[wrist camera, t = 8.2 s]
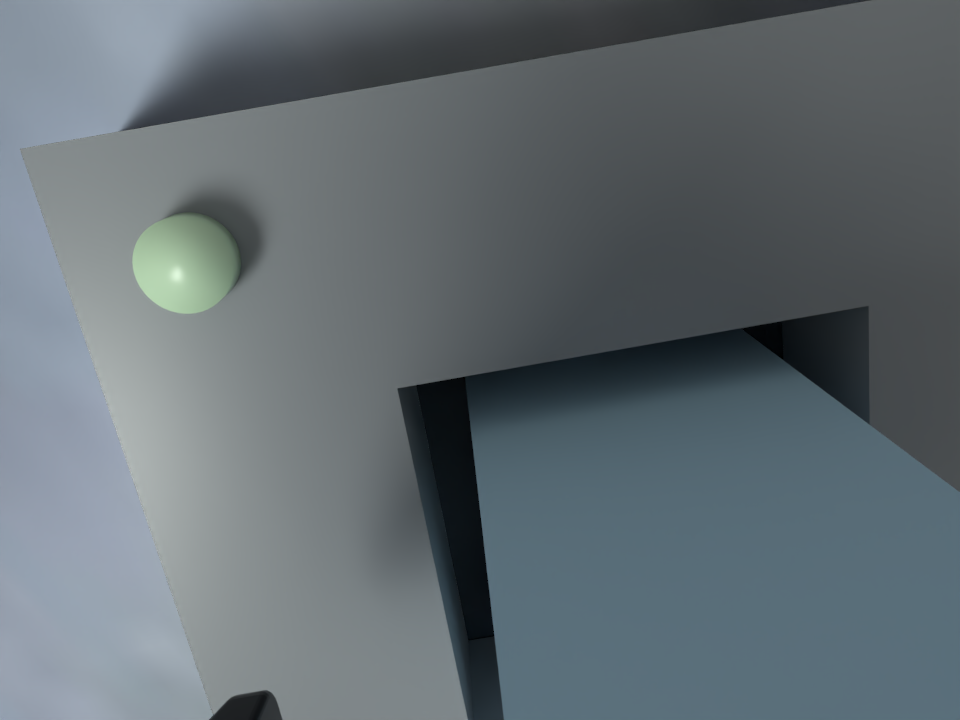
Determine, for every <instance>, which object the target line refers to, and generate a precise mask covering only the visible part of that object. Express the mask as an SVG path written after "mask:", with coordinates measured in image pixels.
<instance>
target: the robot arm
mask: <svg viewBox="0 0 960 720" xmlns="http://www.w3.org/2000/svg"><path fill="white" fill-rule="evenodd" d="M209 720H283V719H282V716H281V713H280V709H279V706H278V703H277V700H276V698H275V696H274V695H273V693H272V692H270V691H268V690H261V691H256V692H250V693H244V694H239V695H235V696H233V697H231V698H230V699H228V700H227V701H226V702H225V703H224V704H223V705H222V706H221V707H220V709H219V710H218V711H217V712H216V713H215V714H214V715H213V716H212V717H211V718H210V719H209Z"/></svg>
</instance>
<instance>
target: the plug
mask: <svg viewBox="0 0 960 720" xmlns="http://www.w3.org/2000/svg"><path fill="white" fill-rule="evenodd" d="M465 382H466V391H467V399H468V408H469V417H470V426H471V435H472V443H473V452H474V461H475V470H476V478H477V487H478V496H479V505H480V514H481V522H482V531H483V540H484V549H485V558H486V566H487V575H488V584H489V593H490V601H491V610H492V619H493V628H494V637H495V645H496V654H497V663H498V672H499V680H500V689H501V698H502V707H503V716H504V720H960V492H959V491H957V490H956V489H955V488H953V487H952V486H951V485H949V484H948V483H947V482H945V481H944V480H943V479H941V478H940V477H939V476H937V475H936V474H935V473H933V472H932V471H931V470H929V469H928V468H927V467H925V466H924V465H923V464H921V463H920V462H919V461H917V460H916V459H915V458H913V457H912V456H911V455H909V454H908V453H907V452H905V451H904V450H903V449H901V448H900V447H899V446H897V445H896V444H895V443H893V442H892V441H891V440H889V439H888V438H887V437H885V436H884V435H883V434H881V433H880V432H879V431H877V430H876V429H875V428H873V427H872V426H871V425H869V424H868V423H867V422H865V421H864V420H863V419H861V418H860V417H858V416H857V415H856V414H854V413H853V412H852V411H850V410H849V409H848V408H846V407H845V406H844V405H842V404H841V403H840V402H838V401H837V400H836V399H834V398H833V397H832V396H830V395H829V394H828V393H826V392H825V391H824V390H822V389H821V388H820V387H818V386H817V385H816V384H814V383H813V382H812V381H810V380H809V379H808V378H806V377H805V376H804V375H802V374H801V373H800V372H798V371H797V370H796V369H794V368H793V367H792V366H790V365H789V364H788V363H786V362H785V361H784V360H782V359H781V358H780V357H778V356H777V355H776V354H774V353H773V352H772V351H770V350H769V349H768V348H766V347H765V346H764V345H762V344H761V343H760V342H758V341H757V340H756V339H754V338H753V337H752V336H750V335H749V334H748V333H746V332H745V331H743V330H742V329H741V328H739V329H734V330H728V331H722V332H716V333H711V334H705V335H699V336H694V337H688V338H682V339H676V340H671V341H665V342H659V343H654V344H648V345H642V346H637V347H631V348H625V349H619V350H614V351H608V352H602V353H597V354H591V355H585V356H579V357H574V358H568V359H562V360H557V361H551V362H545V363H539V364H534V365H528V366H522V367H517V368H511V369H505V370H500V371H494V372H488V373H482V374H477V375H471V376H465Z"/></svg>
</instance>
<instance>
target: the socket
mask: <svg viewBox="0 0 960 720" xmlns="http://www.w3.org/2000/svg"><path fill="white" fill-rule="evenodd" d="M20 150H21V153H22V156H23V159H24V162H25V165H26V168H27V171H28V174H29V177H30V180H31V183H32V186H33V189H34V192H35V194H36V197H37V200H38V203H39V206H40V209H41V212H42V215H43V218H44V221H45V224H46V227H47V230H48V233H49V235H50V238H51V241H52V244H53V247H54V250H55V253H56V256H57V259H58V262H59V265H60V268H61V271H62V274H63V276H64V279H65V282H66V285H67V288H68V291H69V294H70V297H71V300H72V303H73V306H74V309H75V312H76V315H77V318H78V320H79V323H80V326H81V329H82V332H83V335H84V338H85V341H86V344H87V347H88V350H89V353H90V356H91V359H92V361H93V364H94V367H95V370H96V373H97V376H98V379H99V382H100V385H101V388H102V391H103V394H104V397H105V400H106V402H107V405H108V408H109V411H110V414H111V417H112V420H113V423H114V426H115V429H116V432H117V435H118V438H119V441H120V443H121V446H122V449H123V452H124V455H125V458H126V461H127V464H128V467H129V470H130V473H131V476H132V479H133V482H134V485H135V487H136V490H137V493H138V496H139V499H140V502H141V505H142V508H143V511H144V514H145V517H146V520H147V523H148V526H149V528H150V531H151V534H152V537H153V540H154V543H155V546H156V549H157V552H158V555H159V558H160V561H161V564H162V567H163V569H164V572H165V575H166V578H167V581H168V584H169V587H170V590H171V593H172V596H173V599H174V602H175V605H176V608H177V611H178V613H179V616H180V619H181V622H182V625H183V628H184V631H185V634H186V637H187V640H188V643H189V646H190V649H191V652H192V654H193V657H194V660H195V663H196V666H197V669H198V672H199V675H200V678H201V681H202V684H203V687H204V690H205V693H206V695H207V698H208V701H209V704H210V707H211V710H212V713H213V715H214V714H215V713H216V712H217V711H218V710H219V709H220V707H221V706H222V705H223V704H224V703H225V702H226V701H227V700H228V699H230V698H231V697H233V696H235V695H239V694H244V693H250V692H256V691H261V690H268V691H270V692H272V693H273V695H274V696H275V698H276V700H277V703H278V706H279V709H280V713H281V716H282V719H283V720H504V716H503V707H502V698H501V689H500V680H499V672H498V663H497V654H496V645H495V637H494V636H493V637H487V638H481V639H476V640H470V641H468V636H467V631H466V626H465V621H464V616H463V611H462V606H461V601H460V597H459V592H458V587H457V582H456V577H455V572H454V567H453V562H452V557H451V552H450V548H449V543H448V538H447V533H446V528H445V523H444V518H443V513H442V508H441V504H440V499H439V494H438V489H437V484H436V479H435V474H434V469H433V464H432V460H431V455H430V450H429V445H428V440H427V435H426V430H425V425H424V420H423V416H422V411H421V406H420V401H419V396H418V391H417V386H416V385H420V384H425V383H431V382H437V381H442V380H448V379H454V378H460V377H465V376H471V375H477V374H482V373H488V372H494V371H500V370H505V369H511V368H517V367H522V366H528V365H534V364H539V363H545V362H551V361H557V360H562V359H568V358H574V357H579V356H585V355H591V354H597V353H602V352H608V351H614V350H619V349H625V348H631V347H637V346H642V345H648V344H654V343H659V342H665V341H671V340H676V339H682V338H688V337H694V336H699V335H705V334H711V333H716V332H722V331H728V330H734V329H739V328H745V327H751V326H756V325H762V324H768V323H774V322H779V321H782V342H783V360H784V361H785V362H786V363H788V364H789V365H790V366H792V367H793V368H794V369H796V370H797V371H798V372H800V373H801V374H802V375H804V376H805V377H806V378H808V379H809V380H810V381H812V382H813V383H814V384H816V385H817V386H818V387H820V388H821V389H822V390H824V391H825V392H826V393H828V394H829V395H830V396H832V397H833V398H834V399H836V400H837V401H838V402H840V403H841V404H842V405H844V406H845V407H846V408H848V409H849V410H850V411H852V412H853V413H854V414H856V415H857V416H858V417H860V418H861V419H863V420H864V421H865V422H867V423H868V424H869V425H871V426H872V427H873V428H875V429H876V430H877V431H879V432H880V433H881V434H883V435H884V436H885V437H887V438H888V439H889V440H891V441H892V442H893V443H895V444H896V445H897V446H899V447H900V448H901V449H903V450H904V451H905V452H907V453H908V454H909V455H911V456H912V457H913V458H915V459H916V460H917V461H919V462H920V463H921V464H923V465H924V466H925V467H927V468H928V469H929V470H931V471H932V472H933V473H935V474H936V475H937V476H939V477H940V478H941V479H943V480H944V481H945V482H947V483H948V484H949V485H951V486H952V487H953V488H955V489H956V490H957V491H959V492H960V0H869V1H863V2H857V3H852V4H846V5H840V6H835V7H829V8H823V9H817V10H812V11H806V12H800V13H795V14H789V15H783V16H777V17H772V18H766V19H760V20H755V21H749V22H743V23H737V24H732V25H726V26H720V27H715V28H709V29H703V30H697V31H692V32H686V33H680V34H675V35H669V36H663V37H657V38H652V39H646V40H640V41H634V42H629V43H623V44H617V45H612V46H606V47H600V48H594V49H589V50H583V51H577V52H572V53H566V54H560V55H554V56H549V57H543V58H537V59H532V60H526V61H520V62H514V63H509V64H503V65H497V66H492V67H486V68H480V69H474V70H469V71H463V72H457V73H452V74H446V75H440V76H434V77H429V78H423V79H417V80H412V81H406V82H400V83H394V84H389V85H383V86H377V87H371V88H366V89H360V90H354V91H349V92H343V93H337V94H331V95H326V96H320V97H314V98H309V99H303V100H297V101H291V102H286V103H280V104H274V105H269V106H263V107H257V108H251V109H246V110H240V111H234V112H229V113H223V114H217V115H211V116H206V117H200V118H194V119H189V120H183V121H177V122H171V123H166V124H160V125H154V126H149V127H143V128H137V129H131V130H126V131H120V132H114V133H108V134H103V135H97V136H91V137H86V138H80V139H74V140H68V141H63V142H57V143H51V144H46V145H40V146H34V147H28V148H23V149H20Z"/></svg>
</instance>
